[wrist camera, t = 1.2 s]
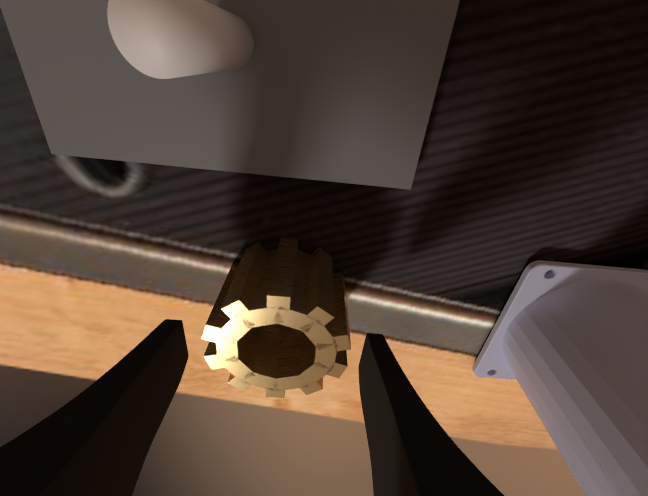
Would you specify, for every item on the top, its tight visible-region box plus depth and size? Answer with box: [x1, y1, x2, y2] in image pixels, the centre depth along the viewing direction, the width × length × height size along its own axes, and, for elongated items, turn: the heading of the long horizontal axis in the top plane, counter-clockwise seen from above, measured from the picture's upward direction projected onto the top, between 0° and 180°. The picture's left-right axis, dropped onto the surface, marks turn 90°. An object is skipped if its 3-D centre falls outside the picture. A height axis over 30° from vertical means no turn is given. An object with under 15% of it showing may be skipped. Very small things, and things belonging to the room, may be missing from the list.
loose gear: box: [201, 237, 351, 398], centre depth 14 cm, size 6×6×4 cm
